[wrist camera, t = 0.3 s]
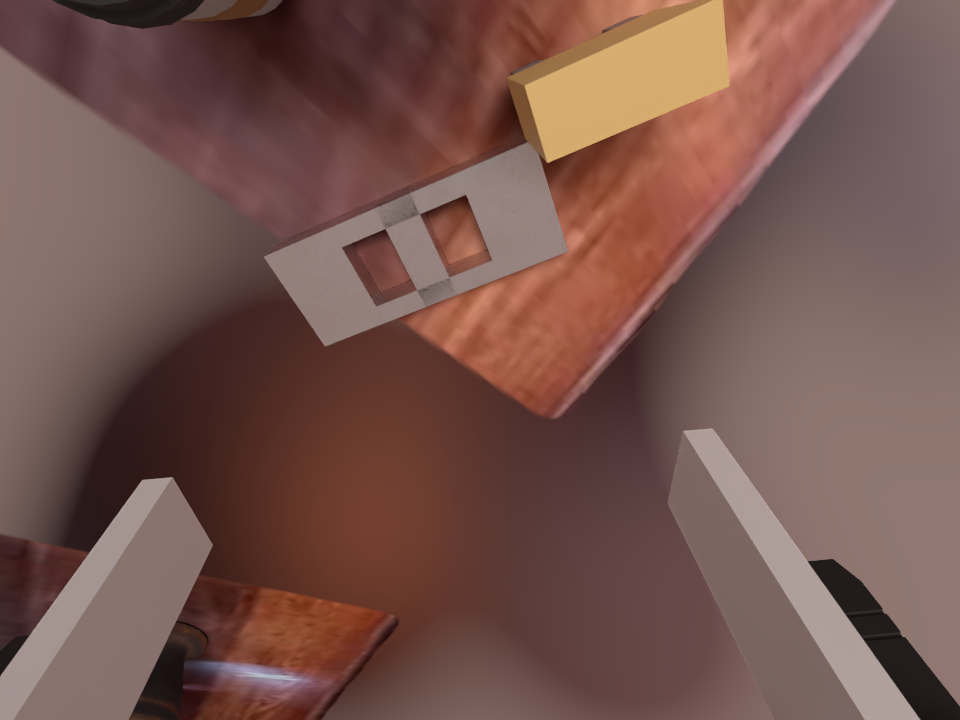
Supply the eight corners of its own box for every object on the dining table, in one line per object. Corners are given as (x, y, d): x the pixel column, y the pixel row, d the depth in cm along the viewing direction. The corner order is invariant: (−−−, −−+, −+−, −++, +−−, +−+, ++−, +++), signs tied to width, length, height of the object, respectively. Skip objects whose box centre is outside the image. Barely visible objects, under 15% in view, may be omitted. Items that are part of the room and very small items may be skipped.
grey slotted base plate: (331, 330, 39) (325, 346, 37) (274, 244, 35) (263, 256, 33) (561, 240, 36) (568, 251, 34) (528, 133, 32) (534, 139, 30)
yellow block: (520, 133, 32) (547, 163, 24) (502, 76, 30) (524, 85, 22) (651, 76, 31) (729, 85, 22) (640, 12, 29) (722, -5, 20)
